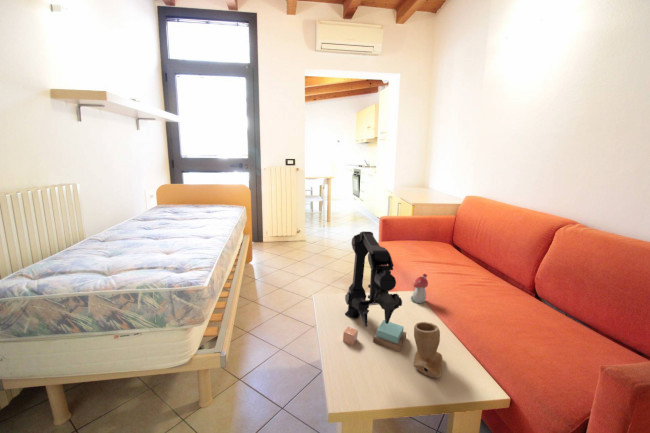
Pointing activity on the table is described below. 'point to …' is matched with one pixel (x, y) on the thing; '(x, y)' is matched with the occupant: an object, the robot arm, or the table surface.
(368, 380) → the table surface
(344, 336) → the terracotta cube
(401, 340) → the tower base
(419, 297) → the decorative ornament
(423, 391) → the table surface
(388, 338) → the tower top
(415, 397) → the table surface
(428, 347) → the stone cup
